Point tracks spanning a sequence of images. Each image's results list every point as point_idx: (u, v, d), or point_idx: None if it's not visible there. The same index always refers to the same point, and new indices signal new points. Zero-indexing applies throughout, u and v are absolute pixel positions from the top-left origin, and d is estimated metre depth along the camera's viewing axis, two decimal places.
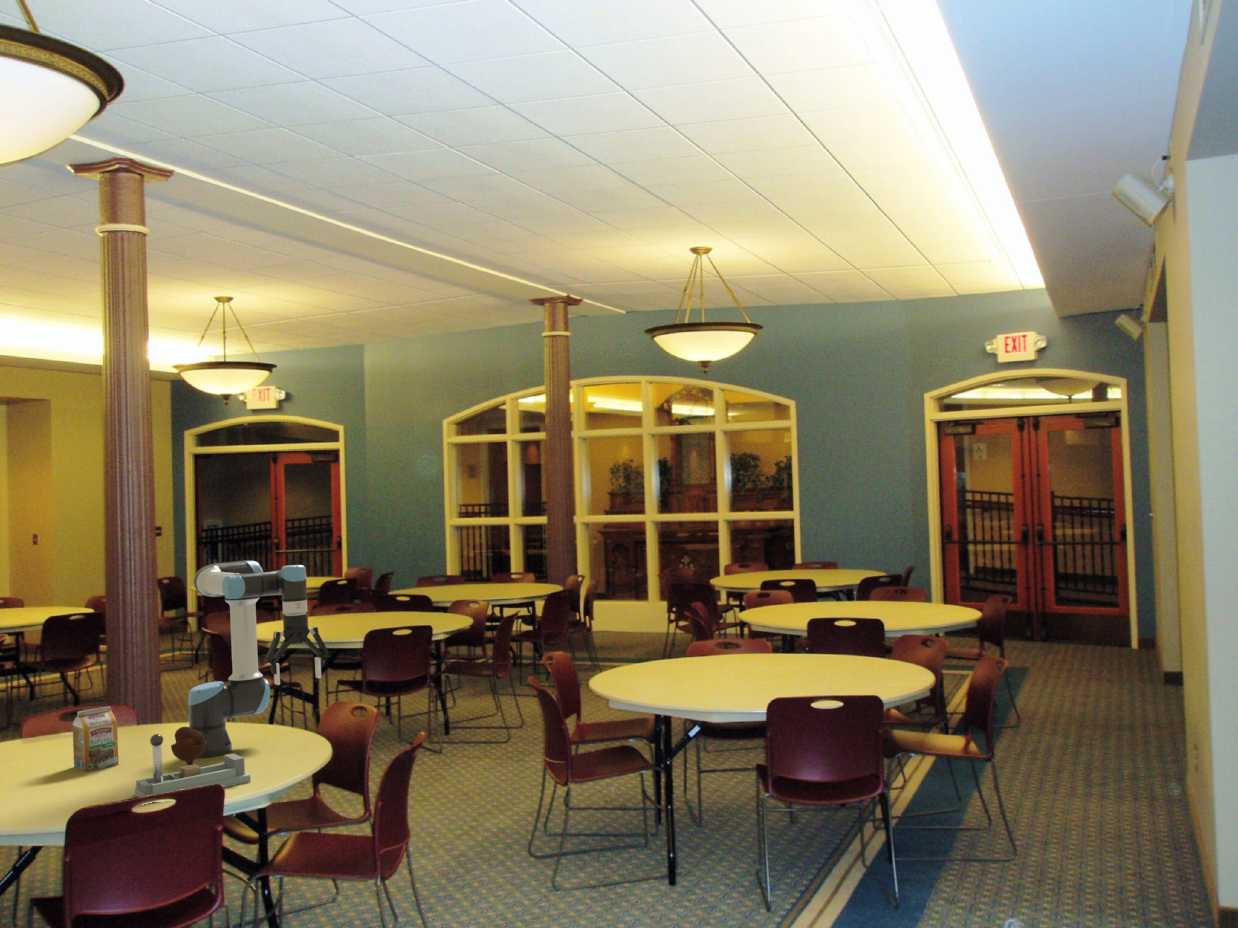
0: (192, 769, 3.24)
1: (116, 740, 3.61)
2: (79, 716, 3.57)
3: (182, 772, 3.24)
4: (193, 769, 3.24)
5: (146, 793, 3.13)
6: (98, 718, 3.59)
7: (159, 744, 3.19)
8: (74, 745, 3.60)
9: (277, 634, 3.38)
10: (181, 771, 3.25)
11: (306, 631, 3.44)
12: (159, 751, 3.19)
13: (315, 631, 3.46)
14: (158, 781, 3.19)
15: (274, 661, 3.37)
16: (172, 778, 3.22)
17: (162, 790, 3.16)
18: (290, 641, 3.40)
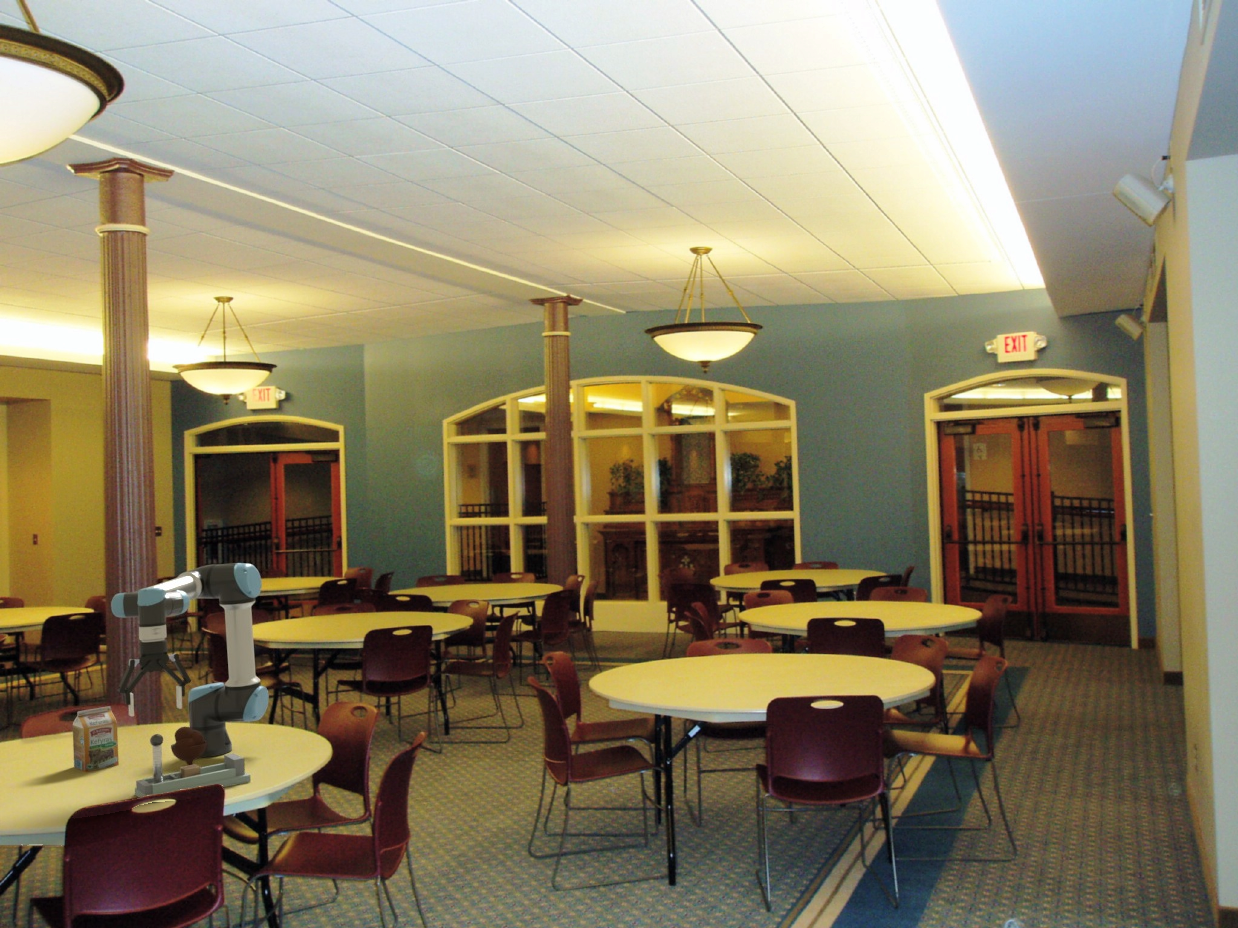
0: (192, 769, 3.24)
1: (116, 740, 3.61)
2: (79, 716, 3.57)
3: (182, 772, 3.24)
4: (193, 769, 3.24)
5: (146, 793, 3.13)
6: (98, 718, 3.59)
7: (159, 744, 3.19)
8: (74, 745, 3.60)
9: (131, 662, 3.16)
10: (181, 771, 3.25)
11: (165, 658, 3.22)
12: (159, 751, 3.19)
13: (175, 658, 3.24)
14: (158, 781, 3.19)
15: (127, 691, 3.15)
16: (172, 778, 3.22)
17: (162, 790, 3.16)
18: (146, 669, 3.18)
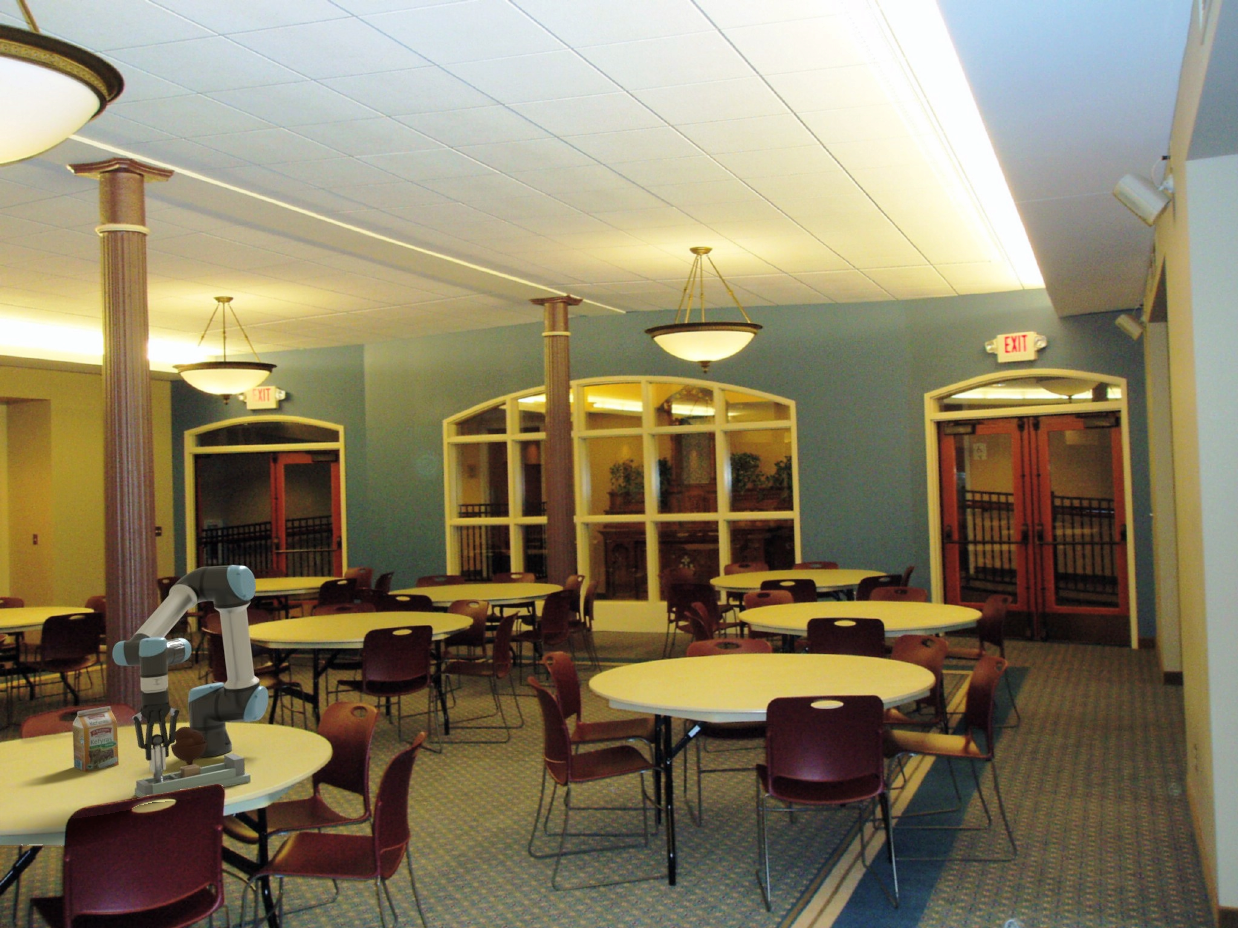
0: (192, 769, 3.24)
1: (116, 740, 3.61)
2: (79, 716, 3.57)
3: (182, 772, 3.24)
4: (193, 769, 3.24)
5: (146, 793, 3.13)
6: (98, 718, 3.59)
7: (159, 744, 3.19)
8: (74, 745, 3.60)
9: (135, 719, 3.16)
10: (181, 771, 3.25)
11: (167, 708, 3.21)
12: (159, 751, 3.19)
13: (175, 713, 3.23)
14: (158, 781, 3.19)
15: (148, 747, 3.17)
16: (172, 778, 3.22)
17: (162, 790, 3.16)
18: (152, 721, 3.18)
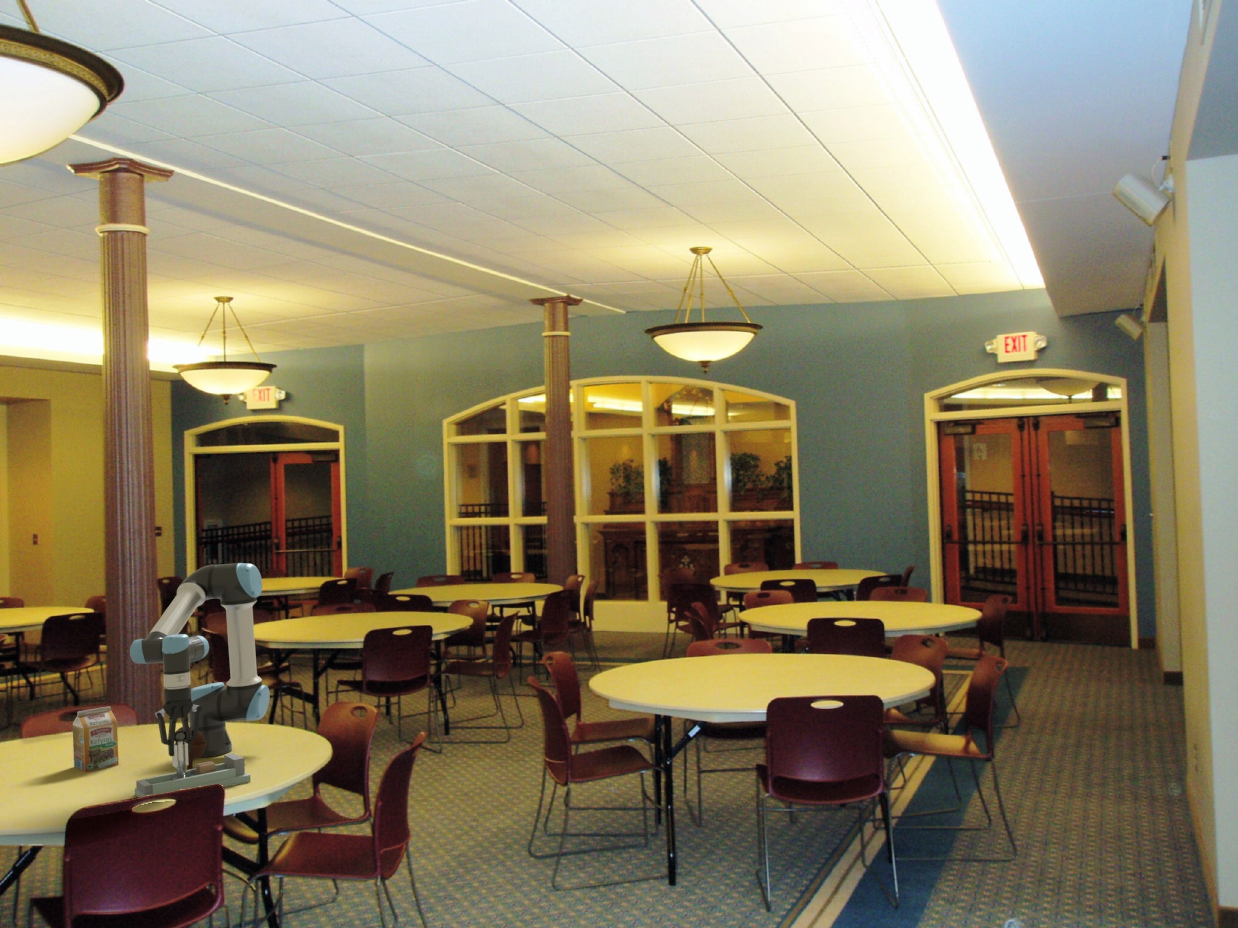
0: (207, 766, 3.27)
1: (116, 740, 3.61)
2: (79, 716, 3.57)
3: (197, 769, 3.27)
4: (208, 766, 3.27)
5: (146, 793, 3.13)
6: (98, 718, 3.59)
7: (182, 740, 3.23)
8: (74, 745, 3.60)
9: (158, 715, 3.20)
10: (196, 768, 3.28)
11: (189, 704, 3.25)
12: (182, 747, 3.24)
13: (197, 710, 3.27)
14: (180, 776, 3.23)
15: (171, 743, 3.22)
16: (194, 774, 3.26)
17: (162, 790, 3.16)
18: (175, 717, 3.22)
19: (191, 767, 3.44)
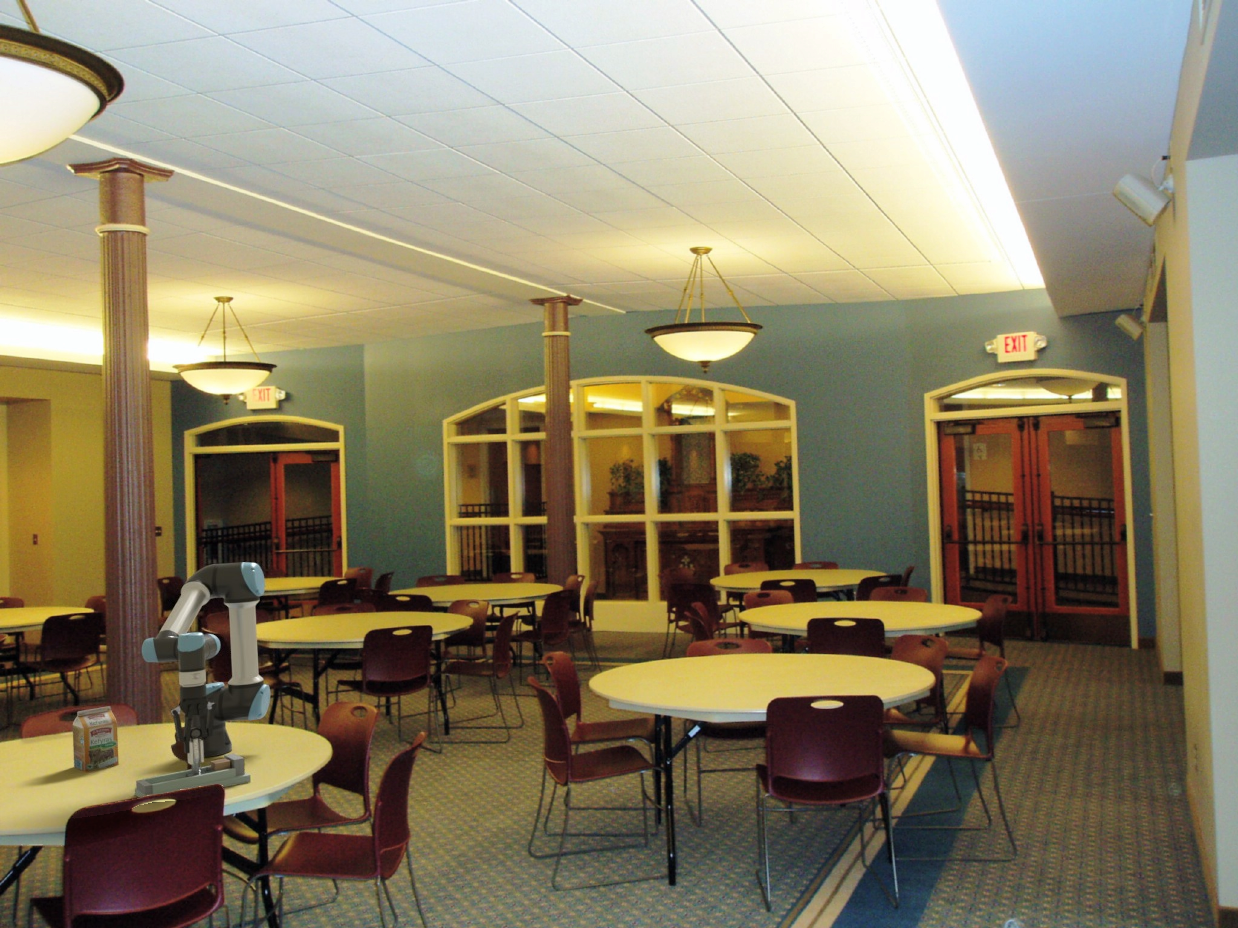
0: (222, 763, 3.30)
1: (116, 740, 3.61)
2: (79, 716, 3.57)
3: (212, 766, 3.30)
4: (223, 763, 3.30)
5: (146, 793, 3.13)
6: (98, 718, 3.59)
7: (197, 737, 3.26)
8: (74, 745, 3.60)
9: (174, 713, 3.23)
10: (211, 765, 3.31)
11: (204, 702, 3.28)
12: (197, 744, 3.26)
13: (212, 707, 3.30)
14: (196, 773, 3.26)
15: (187, 740, 3.24)
16: (209, 770, 3.29)
17: (162, 790, 3.16)
18: (190, 714, 3.25)
19: (191, 767, 3.44)
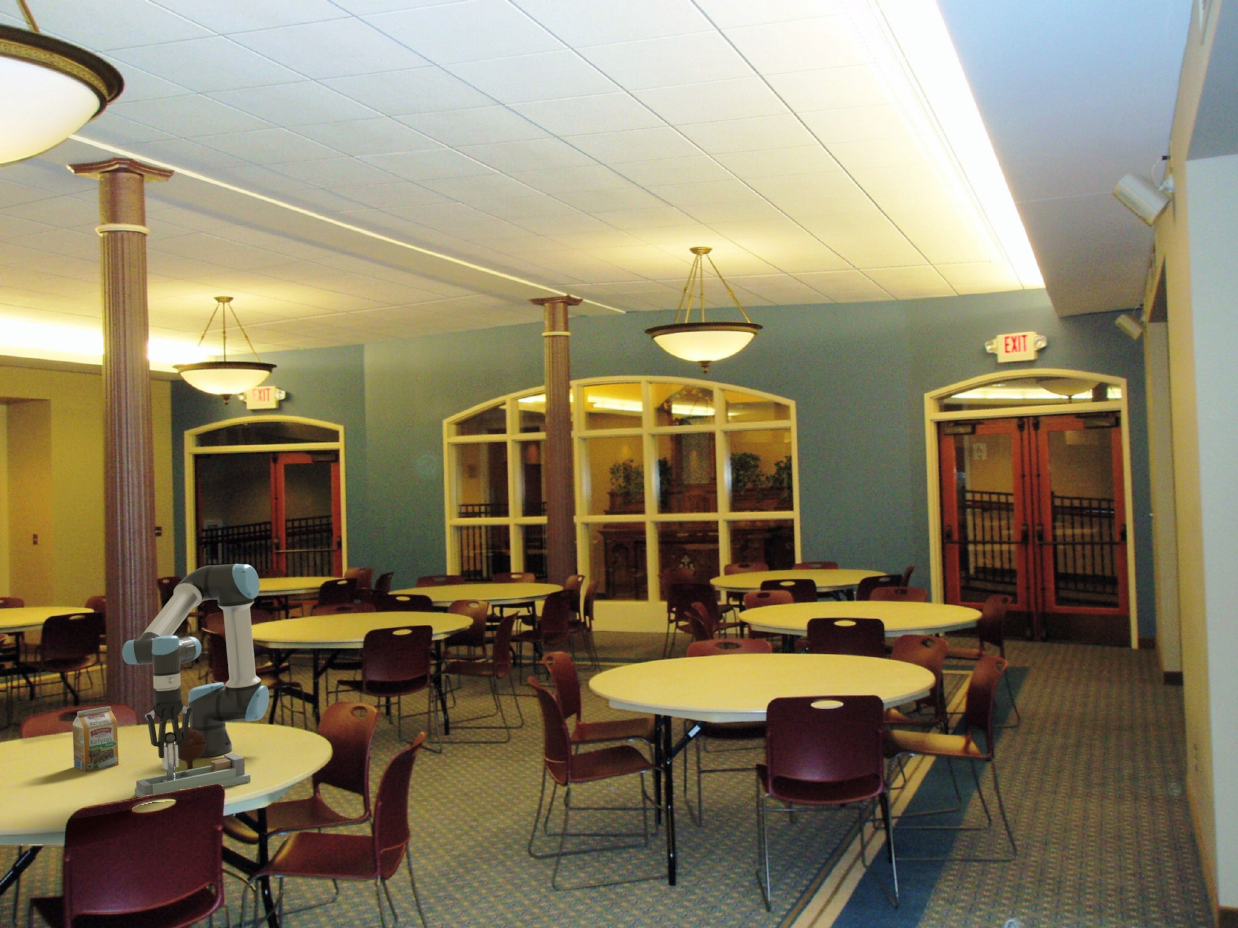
0: (223, 763, 3.30)
1: (116, 740, 3.61)
2: (79, 716, 3.57)
3: (213, 766, 3.30)
4: (224, 763, 3.30)
5: (146, 793, 3.13)
6: (98, 718, 3.59)
7: (172, 742, 3.22)
8: (74, 745, 3.60)
9: (148, 717, 3.18)
10: (212, 765, 3.31)
11: (179, 706, 3.24)
12: (172, 749, 3.22)
13: (187, 711, 3.25)
14: (171, 778, 3.21)
15: (161, 745, 3.20)
16: (185, 775, 3.25)
17: (162, 790, 3.16)
18: (165, 719, 3.20)
19: (191, 767, 3.44)
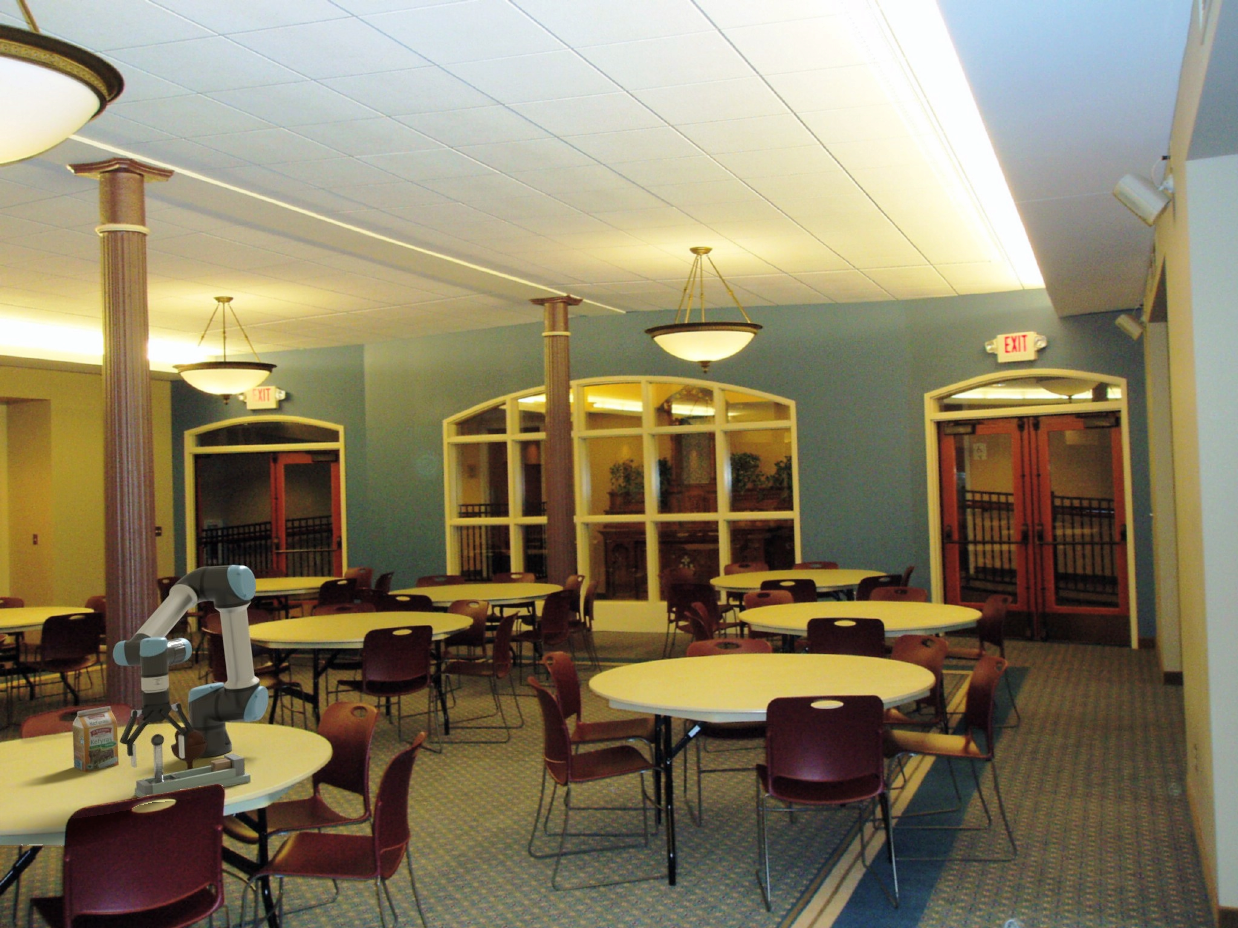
0: (223, 763, 3.30)
1: (116, 740, 3.61)
2: (79, 716, 3.57)
3: (213, 766, 3.30)
4: (224, 763, 3.30)
5: (146, 793, 3.13)
6: (98, 718, 3.59)
7: (160, 744, 3.19)
8: (74, 745, 3.60)
9: (134, 713, 3.15)
10: (212, 765, 3.31)
11: (167, 708, 3.22)
12: (160, 751, 3.20)
13: (178, 708, 3.23)
14: (158, 781, 3.19)
15: (130, 742, 3.14)
16: (173, 778, 3.22)
17: (162, 790, 3.16)
18: (148, 720, 3.17)
19: (191, 767, 3.44)
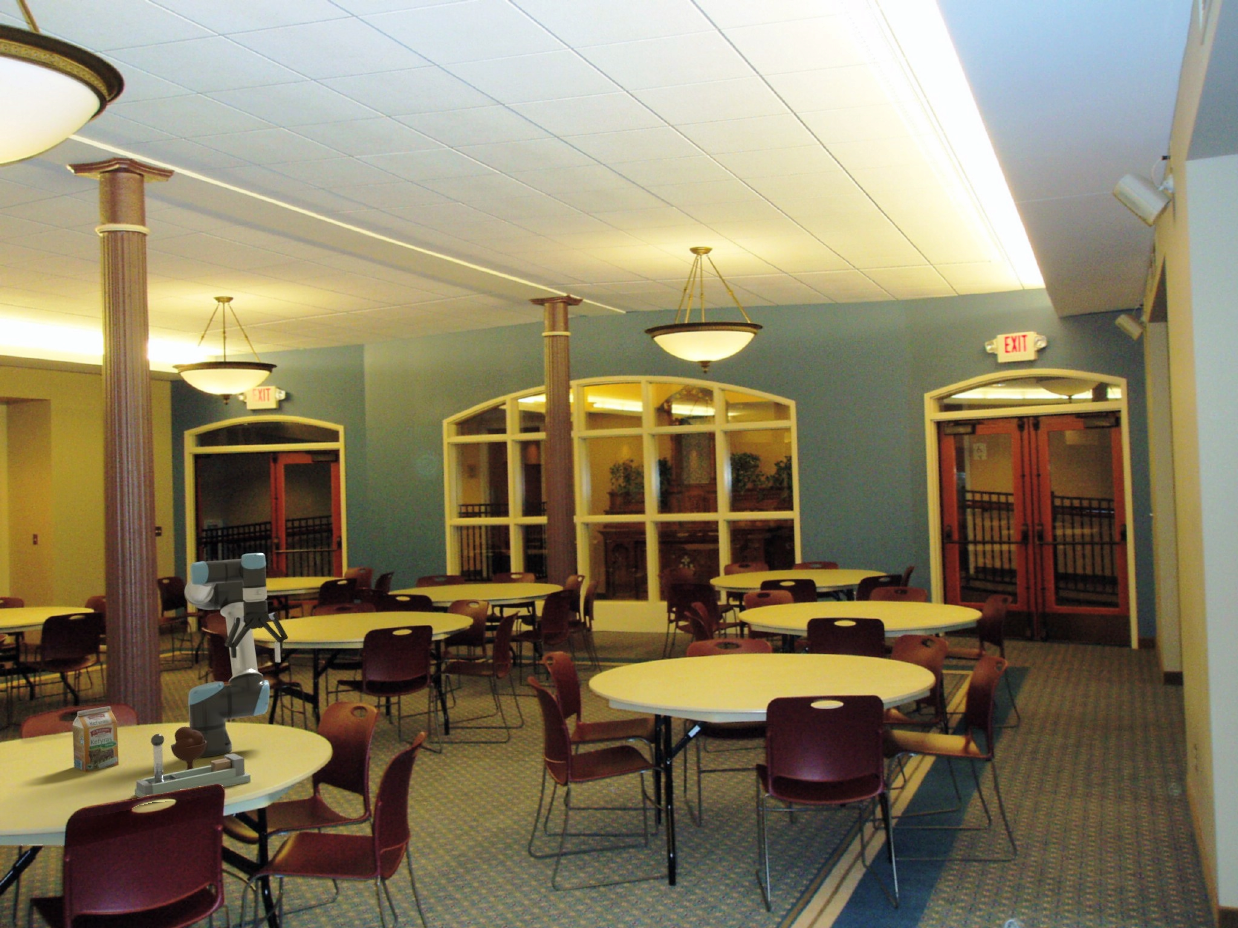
0: (223, 763, 3.30)
1: (116, 740, 3.61)
2: (79, 716, 3.57)
3: (213, 766, 3.30)
4: (224, 763, 3.30)
5: (146, 793, 3.13)
6: (98, 718, 3.59)
7: (160, 744, 3.19)
8: (74, 745, 3.60)
9: (237, 619, 3.51)
10: (212, 765, 3.31)
11: (266, 617, 3.58)
12: (160, 751, 3.20)
13: (274, 617, 3.59)
14: (158, 781, 3.19)
15: (234, 645, 3.50)
16: (173, 778, 3.22)
17: (162, 790, 3.16)
18: (250, 626, 3.54)
19: (191, 767, 3.44)
